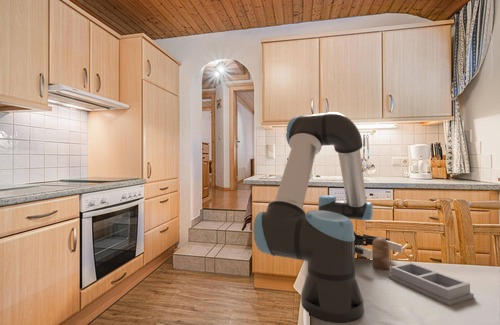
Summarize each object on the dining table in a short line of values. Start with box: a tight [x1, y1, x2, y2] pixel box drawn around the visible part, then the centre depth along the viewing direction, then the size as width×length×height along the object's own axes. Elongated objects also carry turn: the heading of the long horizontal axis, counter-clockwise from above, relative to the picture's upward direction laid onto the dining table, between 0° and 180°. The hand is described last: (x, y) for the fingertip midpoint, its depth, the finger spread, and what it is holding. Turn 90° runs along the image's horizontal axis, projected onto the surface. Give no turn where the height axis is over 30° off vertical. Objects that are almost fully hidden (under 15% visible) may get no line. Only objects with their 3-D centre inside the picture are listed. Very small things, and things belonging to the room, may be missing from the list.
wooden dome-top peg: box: [371, 237, 391, 271], centre depth 90 cm, size 5×5×10 cm
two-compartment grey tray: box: [388, 262, 475, 306], centre depth 75 cm, size 18×10×4 cm, turn 21°
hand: (387, 252), depth 88 cm, fingers open, 13 cm apart
